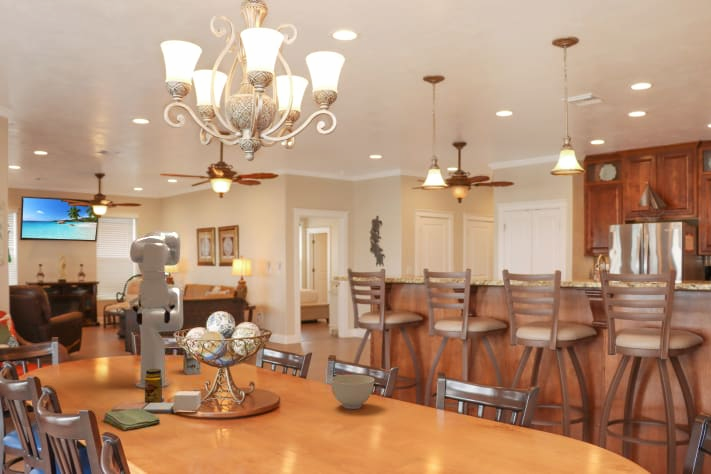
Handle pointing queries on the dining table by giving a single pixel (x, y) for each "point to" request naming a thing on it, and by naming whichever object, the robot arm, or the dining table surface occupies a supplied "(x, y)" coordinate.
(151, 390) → the condiment
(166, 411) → the board
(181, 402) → the white block
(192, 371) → the coffee box
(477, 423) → the dining table surface
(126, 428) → the washcloth
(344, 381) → the bowl
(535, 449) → the dining table surface
